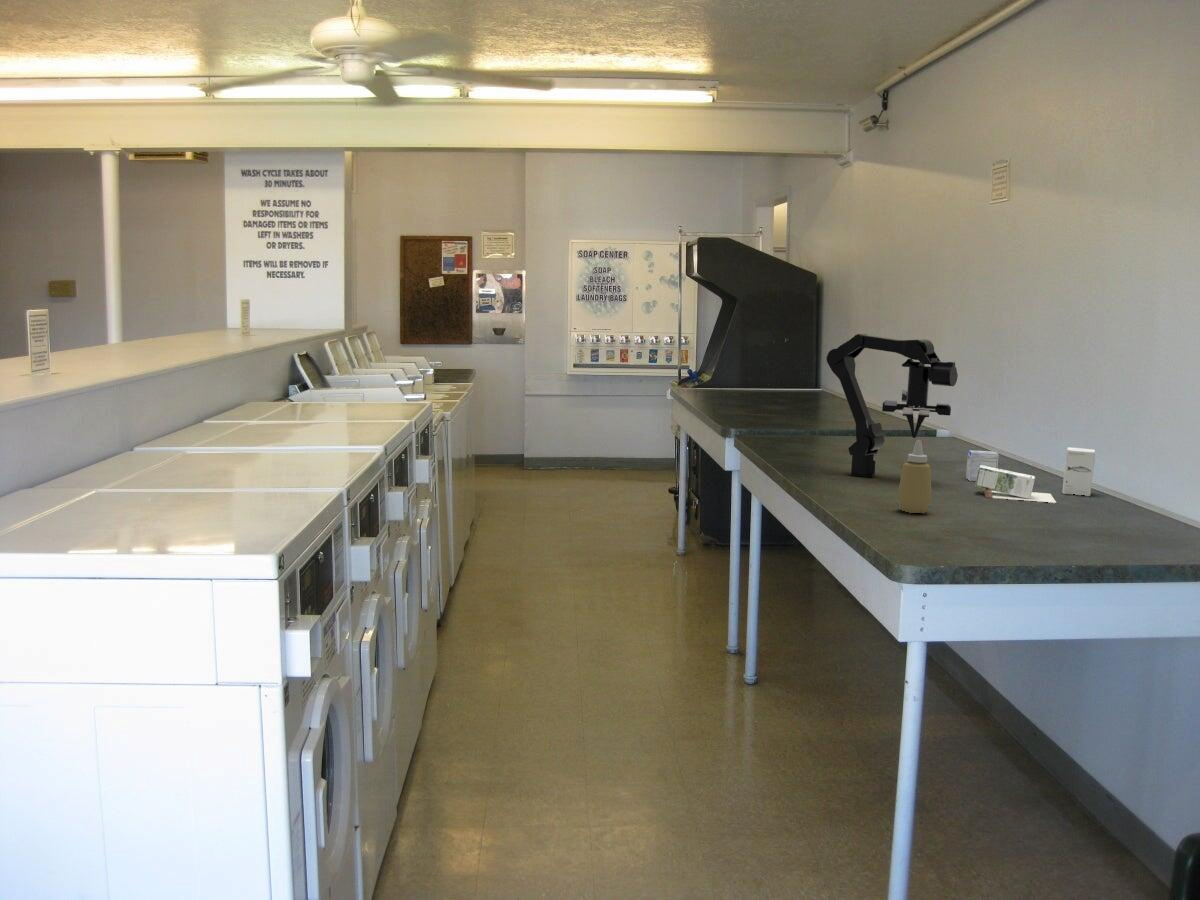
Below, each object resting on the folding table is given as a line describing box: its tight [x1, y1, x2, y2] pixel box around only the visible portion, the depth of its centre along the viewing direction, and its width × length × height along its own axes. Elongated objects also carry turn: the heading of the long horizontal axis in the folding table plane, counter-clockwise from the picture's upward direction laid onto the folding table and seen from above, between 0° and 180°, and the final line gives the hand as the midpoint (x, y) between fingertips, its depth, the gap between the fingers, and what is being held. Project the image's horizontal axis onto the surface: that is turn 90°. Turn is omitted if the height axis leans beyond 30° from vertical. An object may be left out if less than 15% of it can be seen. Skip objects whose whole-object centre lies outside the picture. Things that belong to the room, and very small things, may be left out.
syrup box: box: [974, 465, 1036, 498], centre depth 296 cm, size 6×6×14 cm
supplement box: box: [1061, 446, 1096, 497], centre depth 304 cm, size 7×7×13 cm
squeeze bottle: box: [897, 439, 932, 514], centre depth 268 cm, size 8×8×18 cm
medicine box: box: [965, 449, 1000, 482], centre depth 320 cm, size 8×4×9 cm, turn 84°
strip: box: [982, 488, 993, 499], centre depth 299 cm, size 2×12×2 cm, turn 164°
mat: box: [992, 491, 1057, 504], centre depth 297 cm, size 16×14×1 cm
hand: (914, 437), depth 311 cm, fingers closed
